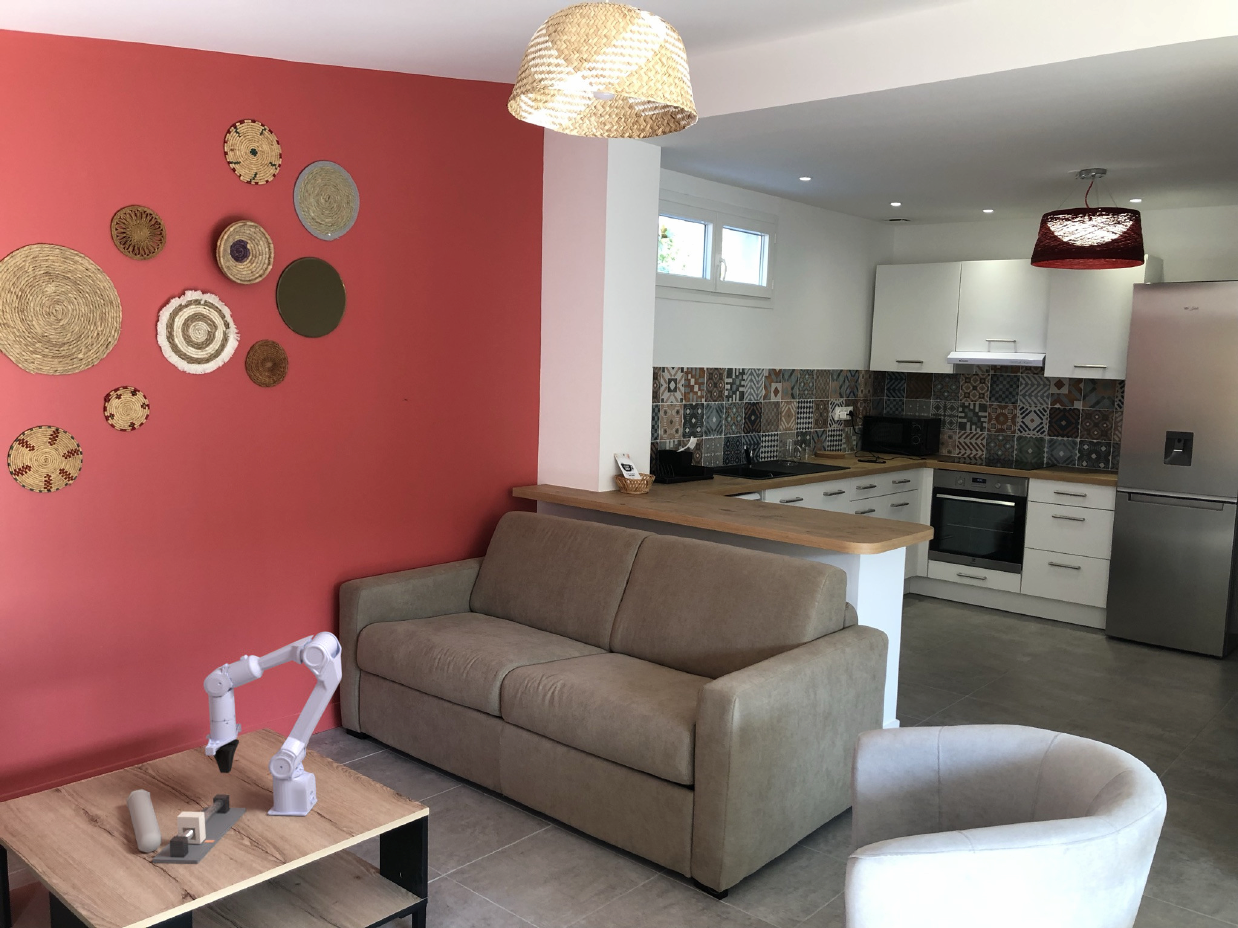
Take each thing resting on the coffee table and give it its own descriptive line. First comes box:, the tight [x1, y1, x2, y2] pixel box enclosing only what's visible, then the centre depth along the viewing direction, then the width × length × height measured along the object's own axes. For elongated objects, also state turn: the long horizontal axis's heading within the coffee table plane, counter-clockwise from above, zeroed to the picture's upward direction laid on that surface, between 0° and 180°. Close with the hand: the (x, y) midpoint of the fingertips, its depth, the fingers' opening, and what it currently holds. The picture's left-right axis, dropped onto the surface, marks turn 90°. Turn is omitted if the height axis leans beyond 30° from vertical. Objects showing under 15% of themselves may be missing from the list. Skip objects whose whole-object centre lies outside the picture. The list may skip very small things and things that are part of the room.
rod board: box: [152, 793, 247, 865], centre depth 222 cm, size 10×24×5 cm, turn 177°
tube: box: [126, 788, 162, 853], centre depth 225 cm, size 5×5×25 cm
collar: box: [176, 811, 206, 844], centre depth 217 cm, size 5×2×6 cm, turn 87°
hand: (225, 771), depth 234 cm, fingers closed
